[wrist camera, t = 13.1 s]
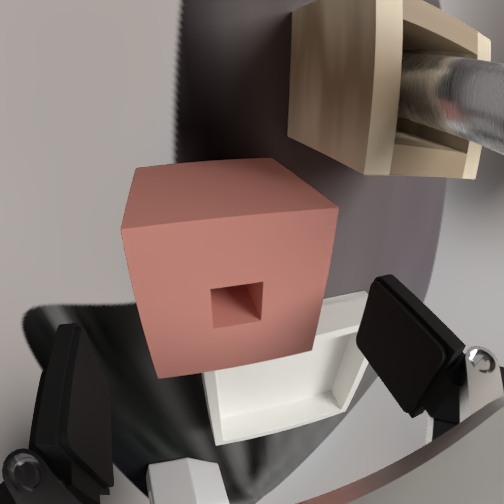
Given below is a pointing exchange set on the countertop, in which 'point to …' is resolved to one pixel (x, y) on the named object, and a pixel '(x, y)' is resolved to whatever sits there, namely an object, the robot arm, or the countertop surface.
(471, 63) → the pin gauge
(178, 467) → the jar
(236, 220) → the red block small bore
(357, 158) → the beech block wide bore
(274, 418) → the tray
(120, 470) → the countertop surface
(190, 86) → the countertop surface
